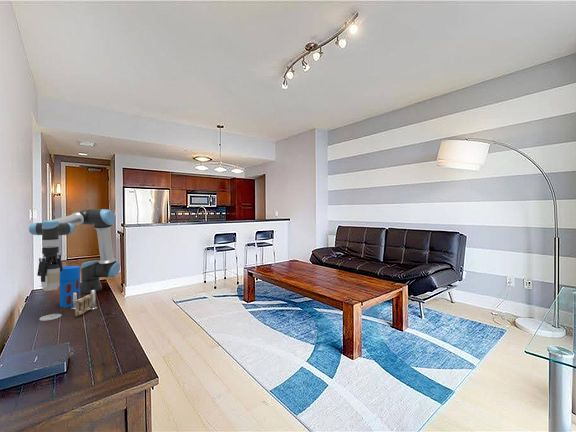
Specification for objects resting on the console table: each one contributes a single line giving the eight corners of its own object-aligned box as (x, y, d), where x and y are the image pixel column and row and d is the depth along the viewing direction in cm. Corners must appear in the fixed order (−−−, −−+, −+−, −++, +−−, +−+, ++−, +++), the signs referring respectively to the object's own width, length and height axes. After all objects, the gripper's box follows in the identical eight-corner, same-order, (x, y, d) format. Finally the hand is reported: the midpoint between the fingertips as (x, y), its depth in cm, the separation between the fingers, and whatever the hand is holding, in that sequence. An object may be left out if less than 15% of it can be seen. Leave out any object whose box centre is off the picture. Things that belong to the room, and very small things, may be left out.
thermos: (83, 302, 195) (83, 266, 195) (70, 307, 185) (70, 269, 184) (69, 301, 197) (69, 265, 196) (55, 307, 186) (55, 268, 185)
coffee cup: (49, 291, 162) (49, 265, 162) (36, 290, 164) (36, 264, 164) (64, 287, 171) (64, 262, 171) (52, 286, 173) (52, 262, 173)
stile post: (73, 307, 186) (73, 291, 186) (80, 307, 186) (80, 291, 186) (69, 309, 182) (69, 293, 182) (76, 309, 182) (75, 293, 182)
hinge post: (91, 307, 186) (91, 289, 185) (98, 307, 186) (98, 289, 186) (87, 309, 181) (87, 291, 181) (94, 309, 181) (94, 291, 181)
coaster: (48, 314, 173) (48, 313, 173) (65, 314, 173) (65, 313, 173) (34, 320, 163) (34, 320, 163) (52, 320, 163) (52, 320, 163)
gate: (90, 307, 182) (90, 293, 182) (92, 307, 182) (92, 293, 182) (75, 316, 168) (75, 300, 168) (77, 316, 168) (77, 300, 168)
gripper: (57, 244, 178) (57, 280, 178) (28, 249, 156) (28, 290, 157) (70, 244, 178) (70, 280, 178) (42, 249, 157) (42, 290, 157)
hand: (50, 285), depth 168 cm, fingers closed on coffee cup, 8 cm apart
